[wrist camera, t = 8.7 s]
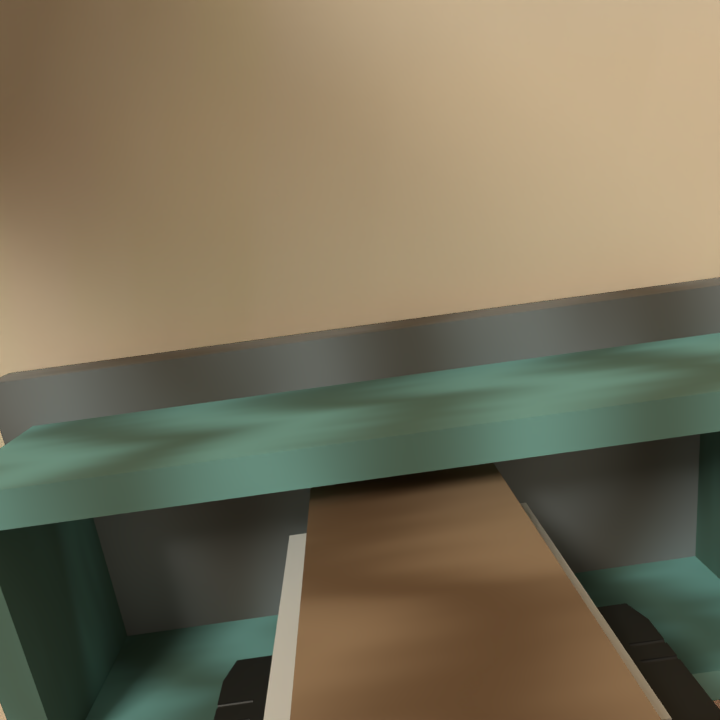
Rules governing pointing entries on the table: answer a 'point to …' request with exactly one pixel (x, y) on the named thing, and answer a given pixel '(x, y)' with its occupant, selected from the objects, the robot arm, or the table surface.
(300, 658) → the walnut block
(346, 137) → the table surface
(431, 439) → the green tray
